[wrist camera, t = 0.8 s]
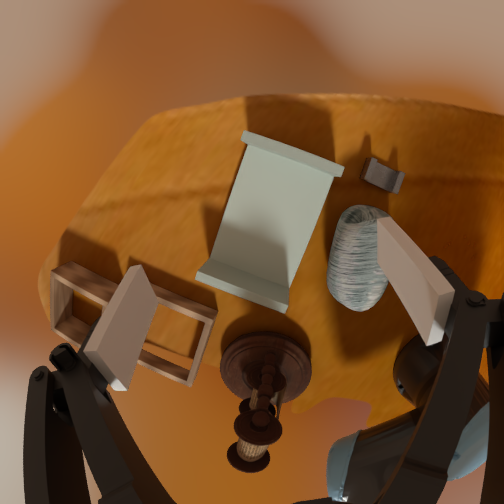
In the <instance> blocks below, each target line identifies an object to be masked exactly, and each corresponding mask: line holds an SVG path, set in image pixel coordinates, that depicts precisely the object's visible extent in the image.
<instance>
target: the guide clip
mask: <svg viewBox="0 0 504 504" xmlns="http://www.w3.org/2000/svg"><path fill="white" fill-rule="evenodd" d="M404 175H405V173H404V172H402V171H394V170H392V169H390V168H388V167H386V166H384V165H382V164H380V163H378V162H377V159H375V158H373V157H371V158H366V161H365V164H364V167H363V169H362V172H361V175H360V179H362V180H364V181H367V182H369V183H371V184H373V185H375V186H378V187H380V188H382V189H384V190H386V191H388V192H390V193H395V194H398V192H399V189H400V186H401V184H402V181H403V178H404Z"/></svg>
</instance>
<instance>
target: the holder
mask: <svg viewBox="0 0 504 504" xmlns="http://www.w3.org/2000/svg"><path fill="white" fill-rule="evenodd" d="M241 141H243V142H244V143H246V144H248V146H247V149H246V152H245V154H244V157H243V160H242V163H241V166H240V169H239V172H238V174H237V177H236V180H235V183H234V186H233V189H232V192H231V195H230V198H229V201H228V204H227V207H226V210H225V213H224V216H223V219H222V222H221V225H220V228H219V231H218V234H217V237H216V240H215V243H214V246H213V250H212V253H211V256H210V258H209V259H208V260H207V262H206V263H205V264H204V265H203V266H202V267H201V268H200V269H199V270H198V271H197V274H196V278H195V280H198V281H200V282H203V283H205V284H208V285H210V286H213V287H215V288H218V289H221V290H223V291H226V292H228V293H231V294H233V295H236V296H239V297H241V298H244V299H247V300H249V301H252V302H254V303H257V304H260V305H263V306H265V307H268V308H271V309H273V310H276V311H279V312H282V313H284V314H285V312H286V310H287V307H288V302H289V287H290V285H291V283H292V280H293V278H294V276H295V273H296V271H297V269H298V266H299V264H300V262H301V259H302V257H303V254H304V252H305V249H306V247H307V245H308V242H309V240H310V237H311V235H312V232H313V230H314V227H315V225H316V222H317V220H318V217H319V215H320V212H321V209H322V207H323V204H324V202H325V199H326V197H327V194H328V191H329V189H330V186H331V183H332V181H333V178H334V176H335V177H341V176H342V173H343V171H344V168H345V167H343V166H341V165H339V164H336V163H334V162H331V161H329V160H326V159H324V158H321V157H319V156H316V155H314V154H311V153H308V152H306V151H303V150H300V149H298V148H295V147H292V146H290V145H287V144H284V143H281V142H278V141H275V140H272V139H269V138H266V137H263V136H260V135H257V134H254V133H251V132H248V131H245V130H244V131H243V134H242V137H241Z"/></svg>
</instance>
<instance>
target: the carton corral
mask: <svg viewBox="0 0 504 504" xmlns="http://www.w3.org/2000/svg"><path fill="white" fill-rule="evenodd" d="M118 286H119V285H118V284H116V283H114V282H112V281H110V280H108V279H106V278H104V277H102V276H100V275H98V274H96V273H94V272H92V271H90V270H88V269H86V268H84V267H82V266H80V265H78V264H76V263H75V262H73V261H70V262H68V263H66V264H64V265H62V266H60V267H57V268H55V269H53V270H51V279H50V318H51V330H52V331H54V332H55V333H57V334H58V335H60V336H61V337H63V338H64V339H66V340H67V341H69V342H70V343H72V344H73V345H75V346H77V347H79V348H80V347H81V345H82V343H83V341H84V339H85V338H86V336H87V334H88V332H89V330H90V328H91V326H89V325H88V324H86V323H84V322H82V321H81V320H79V319H77V318H76V317H74V316H72V301H73V289H74V290H76V291H77V292H79V293H81V294H83V295H84V296H86V297H88V298H90V299H92V300H93V301H95V302H97V303H99V304H101V305H103V306H102V314H103V313H104V311H105V309H106V307H107V305H108V304H109V302H110V300H111V298H112V296H113V295H114V293H115V291H116V290H117V288H118Z"/></svg>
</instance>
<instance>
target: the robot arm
mask: <svg viewBox="0 0 504 504" xmlns="http://www.w3.org/2000/svg"><path fill="white" fill-rule="evenodd" d="M377 263H378V264H379V266H380V267H381V269H382V270H383V272H384V274H385V275H386V277H387V278H388V280H389V282H390V283H391V285H392V287H393V288H394V290H395V291H396V293H397V295H398V296H399V298H400V300H401V302H402V303H403V305H404V307H405V308H406V310H407V312H408V314H409V315H410V317H411V319H412V321H413V322H414V324H415V326H416V328H417V330H418V331H419V333H420V334H419V335H417V336H416V337H415V338H413V339H412V340H411V341H410V342H409V343H408V344H407V345H406V346H405V347H404V348H403V350H402V351H401V353H400V354H399V356H398V358H397V360H396V362H395V365H394V369H393V378H394V381H395V384H396V387H397V389H398V391H399V392H400V394H401V395H402V396H403V397H405V398H406V399H407V400H408V401H409V402H410V403H411V404H413V405H414V406H415V407H416V409H414V410H412V411H410V412H407V413H405V414H402V415H400V416H398V417H396V418H393V419H391V420H388V421H386V422H383V423H381V424H378V425H376V426H373V427H371V428H368V429H365V430H358V431H357V432H356V433H354V434H351V435H349V436H346V437H343V438H341V439H339V440H337V441H336V442H335V443H334V444H333V445H332V447H331V449H330V451H329V454H328V459H327V471H326V472H327V473H326V477H327V489H328V495H329V497H327V498H321V499H315V500H308V501H300V502H296V503H293V504H436V503H437V501H438V499H439V497H440V495H441V493H442V491H443V489H444V487H445V484H446V482H447V481H452V480H454V479H459V478H461V477H464V476H465V475H467V474H469V473H471V472H472V471H474V470H475V469H476V468H478V467H479V466H480V465H482V464H483V463H484V462H485V461H486V468H485V475H484V482H483V488H482V494H481V502H480V504H504V293H503V295H502V298H501V299H492V300H488V299H487V298H486V296H485V295H483V294H482V293H480V292H478V291H472V290H469V289H468V288H467V287H466V286H465V284H464V283H463V282H462V281H461V280H460V279H459V277H458V276H457V275H456V274H454V272H453V270H452V269H451V268H450V267H449V266H448V265H447V264H446V263H445V262H444V261H443V260H442V259H440V258H438V257H436V256H433V257H427V256H426V255H425V254H424V253H423V252H422V250H421V249H420V248H419V247H418V246H417V245H416V244H415V243H414V242H413V241H412V239H411V238H410V237H409V236H408V235H407V234H406V233H405V232H404V231H403V230H402V229H401V228H400V227H399V226H398V225H397V224H396V222H395V221H394V220H393V219H392V218H391V217H385V218H379V219H377ZM158 303H159V301H158V299H157V297H156V295H155V293H154V291H153V289H152V287H151V285H150V282H149V280H148V278H147V276H146V274H145V272H144V269H143V267H142V265H136V266H131V267H130V268H129V269H128V271H127V273H126V274H125V276H124V278H123V279H122V281H121V283H120V284H119V286H118V288H117V290H116V291H115V293H114V295H113V296H112V298H111V300H110V302H109V304H108V305H107V307H106V309H105V311H104V313H103V314H102V316H100V317H99V318H98V319H97V320H96V321H95V322H94V323H93V324H92V326H91V328H90V330H89V332H88V334H87V336H86V338H85V339H84V341H83V343H82V345H81V347H80V349H79V351H78V353H76V352H75V350H74V349H73V348H72V346H71V345H70V344H69V343H62V344H60V345H58V346H57V347H56V348H54V350H53V351H52V352H51V354H50V357H49V360H50V361H51V363H52V364H53V365H54V366H55V367H56V369H57V371H53V372H51V371H50V370H49V369H48V368H47V367H46V366H40V367H38V368H36V369H35V370H34V371H33V372H32V374H31V376H30V379H29V386H28V394H27V402H26V412H25V424H24V445H23V447H24V448H23V472H24V473H23V474H24V493H25V504H91V500H90V496H89V490H88V485H87V480H86V473H85V467H84V460H83V453H82V450H83V452H84V455H85V458H86V460H87V463H88V465H89V467H90V470H91V472H92V474H93V477H94V479H95V481H96V484H97V485H98V488H99V490H100V492H101V495H102V498H101V499H99V500H98V504H177V503H175V502H174V500H173V499H172V498H171V497H170V495H169V494H168V493H167V491H166V490H165V489H164V487H163V486H162V484H161V483H160V481H159V480H158V478H157V477H156V475H155V474H154V472H153V471H152V469H151V468H150V466H149V464H148V463H147V461H146V460H145V458H144V457H143V455H142V453H141V451H140V450H139V448H138V446H137V445H136V443H135V441H134V439H133V438H132V436H131V434H130V432H129V430H128V429H127V427H126V425H125V423H124V421H123V419H122V417H121V415H120V414H119V411H118V409H117V407H116V405H115V403H114V401H113V399H112V397H111V395H110V393H109V392H108V391H107V390H106V388H107V385H108V383H109V384H110V386H111V387H112V388H113V389H114V390H115V391H128V388H129V385H130V382H131V378H132V376H133V373H134V370H135V366H136V364H137V361H138V358H139V355H140V352H141V349H142V347H143V344H144V341H145V338H146V335H147V333H148V330H149V327H150V324H151V322H152V319H153V316H154V314H155V311H156V308H157V306H158ZM483 348H486V351H487V362H488V376H489V385H488V383H487V382H486V381H485V379H484V378H483V377H482V375H481V374H480V373H479V368H480V363H481V358H482V352H483ZM53 407H54V408H55V411H54V409H53Z"/></svg>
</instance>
